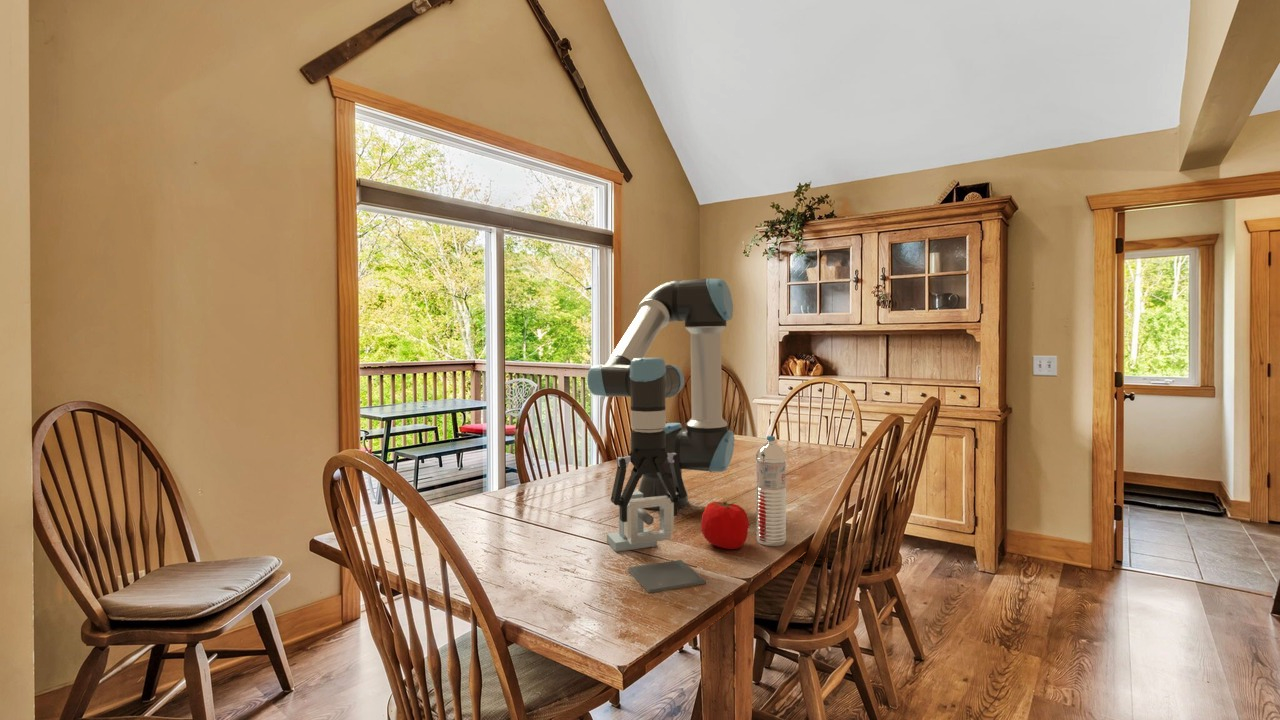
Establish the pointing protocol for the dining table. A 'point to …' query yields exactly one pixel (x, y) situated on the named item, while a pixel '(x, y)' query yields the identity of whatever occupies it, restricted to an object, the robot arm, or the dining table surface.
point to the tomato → (725, 525)
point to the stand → (620, 540)
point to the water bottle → (771, 494)
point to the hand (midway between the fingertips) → (649, 533)
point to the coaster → (666, 576)
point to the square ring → (664, 520)
